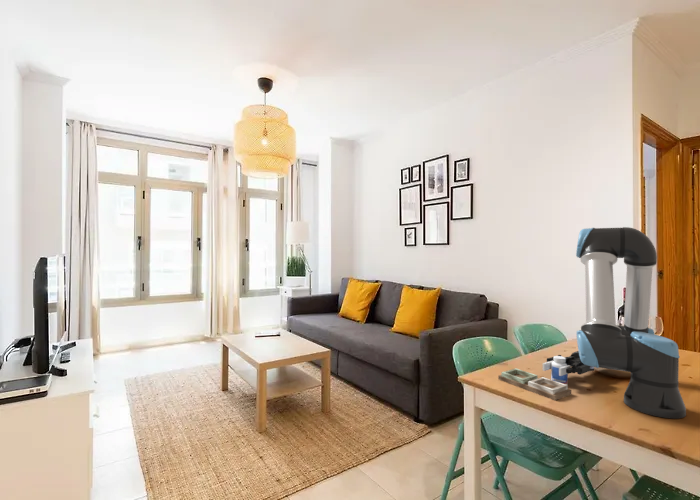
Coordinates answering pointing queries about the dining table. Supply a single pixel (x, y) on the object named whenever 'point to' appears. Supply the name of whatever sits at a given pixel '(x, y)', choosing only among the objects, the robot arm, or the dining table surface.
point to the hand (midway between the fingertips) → (551, 369)
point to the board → (535, 384)
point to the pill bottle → (555, 366)
